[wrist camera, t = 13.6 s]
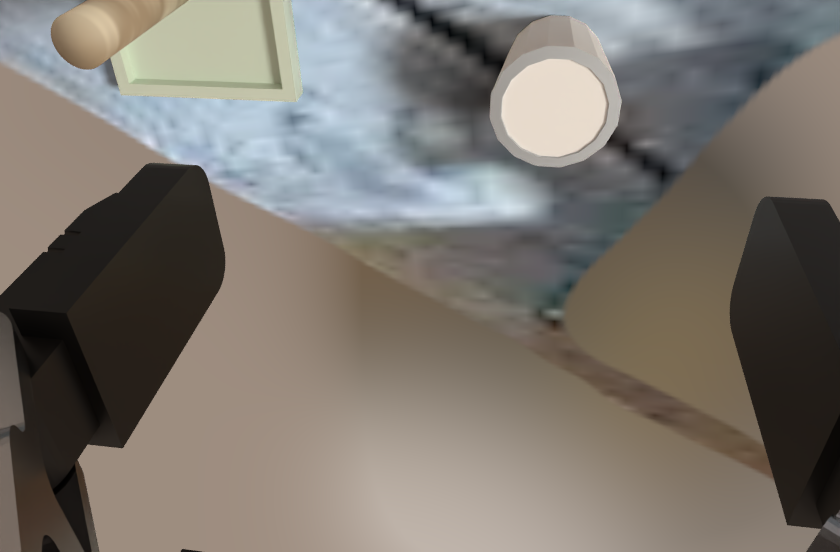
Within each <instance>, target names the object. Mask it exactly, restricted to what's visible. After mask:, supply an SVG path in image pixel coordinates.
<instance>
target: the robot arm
mask: <svg viewBox="0 0 840 552" xmlns="http://www.w3.org/2000/svg"><path fill="white" fill-rule="evenodd" d="M224 271H225V252H224V247H223V242H222V238H221V234H220V230H219V225H218V221H217V217H216V212H215V208H214V203H213V199H212V195H211V190H210V186H209V182H208V178H207V176H206V174H205V172H204V170H203V169H202V168H201V167H200V166H197V165H182V164H163V163H149V164H146V165H145V166H144V167H143V168H142V169H141V170H140V171H139V172H138V173H137V174H136V175H135V176H134V177H133V178H132V179H131V180H130V181H129V183H128V184H127V185H126V186H125V187H124V188H123V189H122V190H121V191H120V192H119V193H115V194H112V195H111V196H109V197H107V198H105V199H104V200H102V201H100V202H98V203H96V204H95V205H93V206H91V207H89V208H88V209H86V210H84V211H83V213H81V214H80V216H78V217H77V219H75V220H74V222H73V223H72V224H71V225H70V226H69V227H68V228H67V229H66V230H65V234H64V235H60V236H59V237H58V238H57V239H56V240H55V241H54V242H53V243H52V244H51V245H50V246H49V247H48V252H43V253H42V254H41V255H40V256H39V257H38V258H37V259H36V260H35V261H34V262H33V263H32V264H31V265H30V266H29V267H28V268H27V269H26V270H25V271H24V272H23V273H22V274H21V275H20V276H19V277H18V278H17V279H16V280H15V281H14V282H13V283H12V284H11V285H10V286H9V287H8V288H7V289H6V290H5V291H4V292H3V293H2V294H1V295H0V552H99V547H98V542H97V537H96V532H95V527H94V522H93V517H92V512H91V507H90V502H89V497H88V493H87V488H86V483H85V478H84V473H83V471H82V468H81V466H80V464H79V462H78V460H77V459H78V458H79V456H80V455H81V453H82V452H83V450H84V449H85V447H86V446H87V444H90V445H98V446H107V447H117V448H123V447H124V445H125V444H126V442H127V440H128V439H129V437H130V436H131V434H132V432H133V431H134V429H135V427H136V426H137V424H138V422H139V421H140V419H141V418H142V416H143V414H144V413H145V411H146V409H147V408H148V406H149V404H150V403H151V401H152V399H153V398H154V396H155V395H156V393H157V391H158V389H159V388H160V386H161V385H162V383H163V381H164V379H165V378H166V377H167V375H168V373H169V372H170V370H171V368H172V367H173V365H174V363H175V362H176V360H177V358H178V357H179V355H180V354H181V352H182V350H183V349H184V347H185V345H186V343H187V342H188V340H189V339H190V337H191V335H192V334H193V332H194V331H195V329H196V327H197V325H198V324H199V322H200V321H201V319H202V317H203V316H204V314H205V312H206V311H207V309H208V308H209V306H210V304H211V303H212V301H213V299H214V297H215V296H216V294H217V293H218V291H219V289H220V287H221V284H222V281H223V277H224ZM730 324H731V330H732V334H733V338H734V341H735V345H736V348H737V351H738V355H739V358H740V362H741V365H742V369H743V372H744V375H745V380H746V383H747V386H748V390H749V393H750V397H751V400H752V404H753V407H754V410H755V414H756V418H757V421H758V425H759V428H760V431H761V435H762V439H763V442H764V446H765V449H766V453H767V456H768V460H769V463H770V467H771V470H772V473H773V477H774V480H775V484H776V487H777V490H778V494H779V498H780V501H781V504H782V508H783V512H784V515H785V519H786V522H787V525H791V526H801V527H810V528H818V529H821V530H820V532H819V533H818V535H817V536H816V538H815V539H814V541H813V542H812V544H811V545H810V547H809V548H808V550H807V551H806V552H840V222H839V220H838V218H837V216H836V215H835V213H834V211H833V209H832V207H831V206H830V204H829V203H828V202H827V201H826V200H822V199H821V200H820V199H803V198H784V197H764V198H763V199H762V200H761V201H760V203H759V204H758V207H757V209H756V211H755V215H754V218H753V221H752V225H751V228H750V232H749V235H748V238H747V241H746V245H745V248H744V252H743V255H742V258H741V262H740V265H739V268H738V272H737V275H736V278H735V282H734V285H733V289H732V294H731V301H730ZM181 552H200V551H193V550H185V549H182V550H181Z"/></svg>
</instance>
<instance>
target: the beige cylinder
mask: <svg viewBox="0 0 840 552" xmlns="http://www.w3.org/2000/svg"><path fill="white" fill-rule="evenodd" d="M621 102H622V100H621V97H620V93H619V90H618V86H617V82H616V79H615V76H614V74H613V71H612V69H611V67H610V64H609V62H608V60H607V58H606V55H605V53H604V51H603V48H602V46H601V44H600V41H599V39H598V37H597V36H596V35H595V34H594V33H593V32H592V30H591V29H590V28H589V27H588V26H587V24H585V23H583V22H581V21H579V20H576V19H574V18H572V17H570V16H553V15H550V16H547V17H544V18H541V19H539V20H536V21H533V22H531V23H530V24H529V25H528V26H527V27H526V28H525V29H523V30H522V31H521V32H520V33H519V34H518V35H517V37H516V39H515V41H514V43H513V45H512V47H511V49H510V51H509V53H508V55H507V58H506V60H505V62H504V65H503V67H502V69H501V72H500V74H499V76H498V79H497V81H496V83H495V86H494V88H493V90H492V93H491V100H490V120H491V123H492V125H493V128H494V131H495V133H496V136H497V138H498V140H499V141H500V142H501V143H502V144H503V145H504V146H505V147H506V148H507V149H508V150H509V151H510V152H511V153H512V154H513V155H514V156H515V157H517V158H520V159H522V160H524V161H526V162H529V163H531V164H533V165H535V166H548V167H563V166H566V165H570V164H573V163H577V162H580V161H584V160H585V159H587V158H588V157H589V156H591V155H592V154H594V153H595V152H596V151H598V150H599V149H600V148H602V147H603V146H604V145H605V144H606V142H607V141H608V139H609V138H610V136H611V135H612V133H613V131H614V130H615V128H616V127H617V125H618V120H619V114H620V108H621Z"/></svg>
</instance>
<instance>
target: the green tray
mask: <svg viewBox="0 0 840 552" xmlns="http://www.w3.org/2000/svg"><path fill="white" fill-rule="evenodd" d="M110 59H111V62H112V66H113V69H114V73H115V76H116V79H117V83H118V86H119V90H120V93H121V95H131V96H156V97H182V98H208V99H233V100H259V101H285V102H297V101H298V99H299V98H300V96H301V95H302V93H303V88H302V80H301V73H300V65H299V57H298V50H297V42H296V34H295V26H294V19H293V11H292V3H291V0H189V1H187V2H186V3H185V4H183V5H182V6H180V7H179V8H178V9H176V10H175V11H174V12H172V13H171V14H169V15H168V16H167V17H165V18H164V19H163V20H161V21H160V22H158V23H157V24H156V25H154V26H153V27H152V28H150V29H149V30H147V31H146V32H145V33H143V34H142V35H141V36H139V37H138V38H136V39H135V40H134V41H132V42H131V43H130V44H128V45H127V46H126V47H124V48H123V49H121V50H120V51H119V52H117V53H116V54H115V55H113V56H112V57H110Z"/></svg>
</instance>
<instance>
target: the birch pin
mask: <svg viewBox="0 0 840 552" xmlns="http://www.w3.org/2000/svg"><path fill="white" fill-rule="evenodd" d="M187 1H189V0H87V1H85V2H83V3H81V4H80V5H78V6H76V7H74V8H73V9H71V10H69V11H67V12H66V13H64V14H62V15H60V16H59V17H57V18H56V19H55V20H54V22H53V24H52V27H51V38H52V41H53V44H54V46H55V48H56V50H57V51H58V53H59V54H60V55H61V57H62V58H63V59H65V60H66V61H67V62H68V63H70V64H71V65H73V66H75V67H77V68H80V69H94V68H96V67H98V66H99V65H101V64H102V63H104V62H105V61H106V60H108V59H109V58H110V57H112V56H113V55H115V54H116V53H117V52H119V51H120V50H121V49H123V48H124V47H126V46H127V45H128V44H130V43H131V42H132V41H134V40H135V39H136V38H138V37H139V36H141V35H142V34H143V33H145V32H146V31H147V30H149V29H150V28H152V27H153V26H154V25H156V24H157V23H158V22H160V21H161V20H163V19H164V18H165V17H167V16H168V15H169V14H171V13H172V12H174V11H175V10H176V9H178V8H179V7H180V6H182V5H183V4H185V3H186V2H187Z"/></svg>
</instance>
